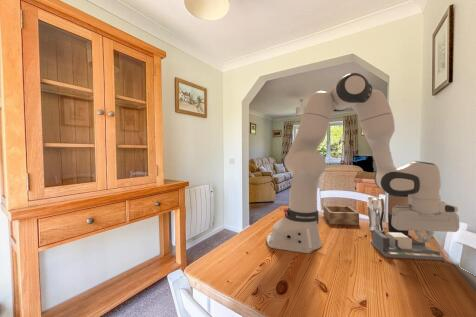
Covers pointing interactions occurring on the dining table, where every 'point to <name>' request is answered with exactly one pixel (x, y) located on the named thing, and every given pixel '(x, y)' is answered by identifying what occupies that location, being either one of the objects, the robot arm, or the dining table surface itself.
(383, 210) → the beer glass
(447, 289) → the dining table surface
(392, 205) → the travel mug
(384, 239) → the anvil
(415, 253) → the gauge board
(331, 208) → the tray
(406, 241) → the block
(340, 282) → the dining table surface
